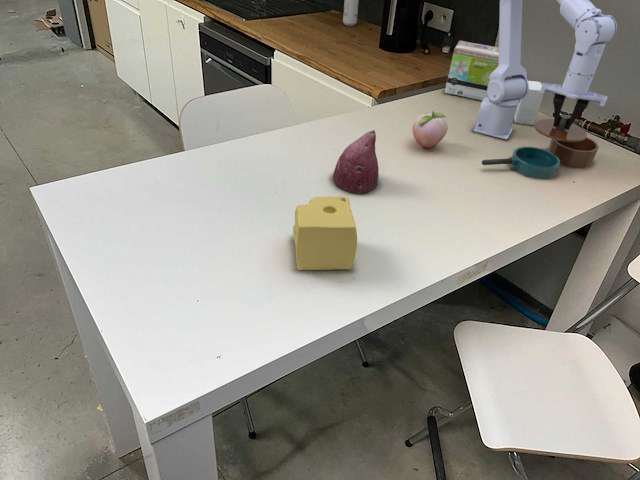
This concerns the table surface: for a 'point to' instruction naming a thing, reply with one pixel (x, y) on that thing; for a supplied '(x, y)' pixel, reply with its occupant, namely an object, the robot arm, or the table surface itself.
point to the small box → (529, 105)
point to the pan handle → (500, 161)
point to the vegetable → (358, 166)
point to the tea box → (471, 70)
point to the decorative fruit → (429, 129)
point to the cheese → (325, 234)
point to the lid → (560, 129)
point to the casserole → (574, 152)
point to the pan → (535, 162)
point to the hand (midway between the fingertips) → (561, 126)
